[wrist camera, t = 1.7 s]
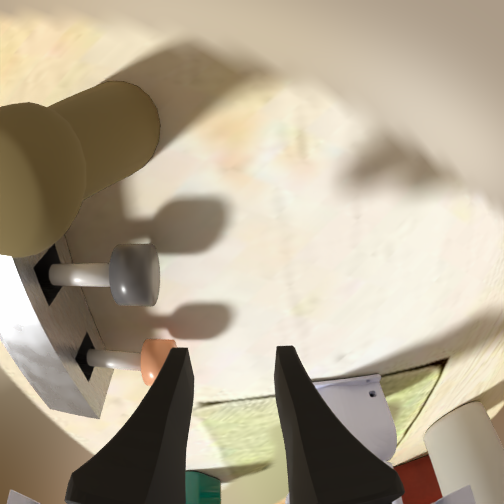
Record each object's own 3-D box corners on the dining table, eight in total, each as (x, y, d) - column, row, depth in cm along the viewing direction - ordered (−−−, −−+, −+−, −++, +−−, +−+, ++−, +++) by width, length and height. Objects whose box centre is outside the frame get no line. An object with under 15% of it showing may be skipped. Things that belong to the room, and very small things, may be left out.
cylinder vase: (415, 430, 39) (452, 554, 18) (478, 391, 35) (529, 511, 14) (429, 442, 44) (460, 542, 23) (482, 409, 41) (522, 507, 19)
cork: (98, 64, 14) (-44, 70, 4) (180, 112, 16) (97, 157, 6) (56, 150, 16) (-69, 229, 6) (129, 196, 18) (41, 316, 8)
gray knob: (154, 232, 18) (138, 265, 15) (162, 281, 20) (151, 319, 17) (58, 236, 18) (32, 266, 15) (72, 281, 19) (52, 313, 16)
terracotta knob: (172, 329, 22) (165, 367, 19) (180, 360, 24) (175, 396, 21) (90, 326, 22) (75, 359, 19) (103, 355, 24) (92, 388, 20)
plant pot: (375, 468, 48) (391, 534, 34) (452, 440, 47) (473, 499, 33) (363, 488, 58) (374, 540, 43) (428, 466, 57) (443, 514, 43)
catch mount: (53, 185, 17) (0, 226, 12) (114, 367, 26) (99, 419, 21) (0, 194, 17) (-50, 232, 12) (68, 362, 26) (49, 408, 21)
